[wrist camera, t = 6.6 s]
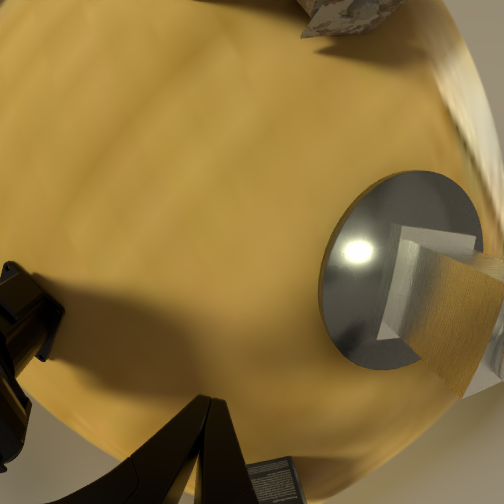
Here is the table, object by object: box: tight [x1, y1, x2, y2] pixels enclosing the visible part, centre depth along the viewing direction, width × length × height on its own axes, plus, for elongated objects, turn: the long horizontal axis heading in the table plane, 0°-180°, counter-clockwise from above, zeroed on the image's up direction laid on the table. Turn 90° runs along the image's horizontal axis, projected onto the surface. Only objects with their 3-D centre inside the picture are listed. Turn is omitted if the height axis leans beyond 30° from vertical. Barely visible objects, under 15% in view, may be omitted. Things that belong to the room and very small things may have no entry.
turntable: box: [318, 170, 483, 370], centre depth 19 cm, size 15×15×2 cm
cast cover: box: [369, 223, 504, 399], centre depth 13 cm, size 8×8×10 cm
